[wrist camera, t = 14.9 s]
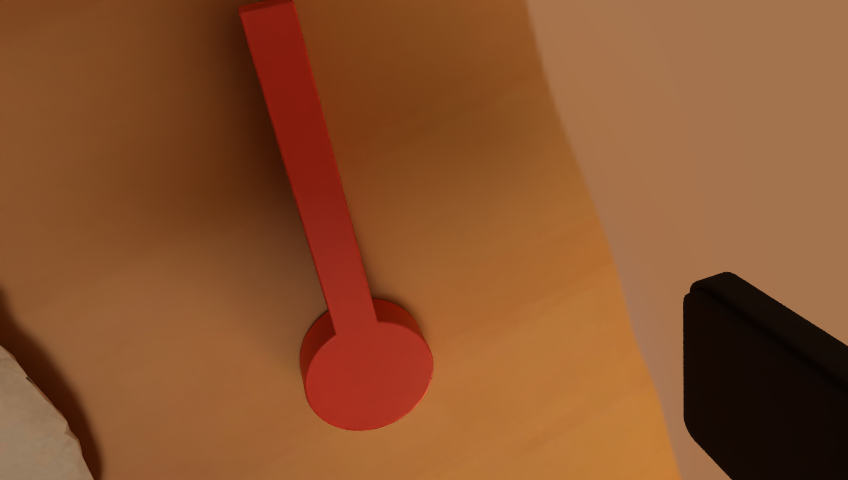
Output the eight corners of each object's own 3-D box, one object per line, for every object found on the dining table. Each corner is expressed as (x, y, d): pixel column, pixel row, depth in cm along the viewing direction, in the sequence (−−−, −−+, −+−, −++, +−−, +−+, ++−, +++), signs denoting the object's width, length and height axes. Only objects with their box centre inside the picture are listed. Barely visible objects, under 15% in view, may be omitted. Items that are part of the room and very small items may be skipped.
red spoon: (180, 19, 17) (176, 26, 16) (341, -17, 18) (351, -14, 16) (317, 418, 23) (323, 448, 22) (431, 380, 24) (443, 406, 23)
